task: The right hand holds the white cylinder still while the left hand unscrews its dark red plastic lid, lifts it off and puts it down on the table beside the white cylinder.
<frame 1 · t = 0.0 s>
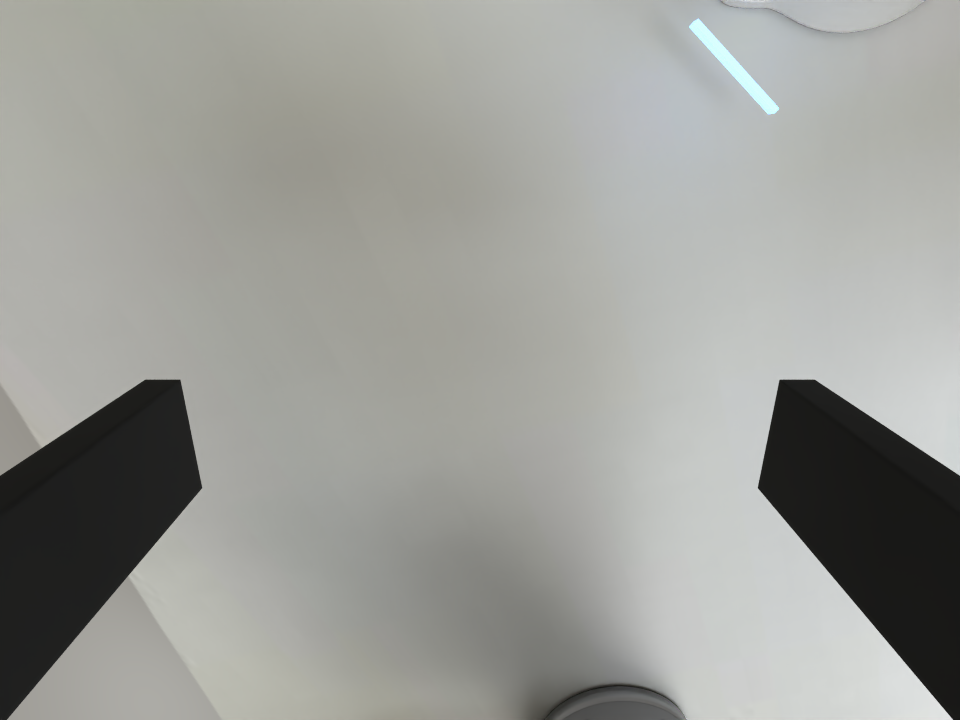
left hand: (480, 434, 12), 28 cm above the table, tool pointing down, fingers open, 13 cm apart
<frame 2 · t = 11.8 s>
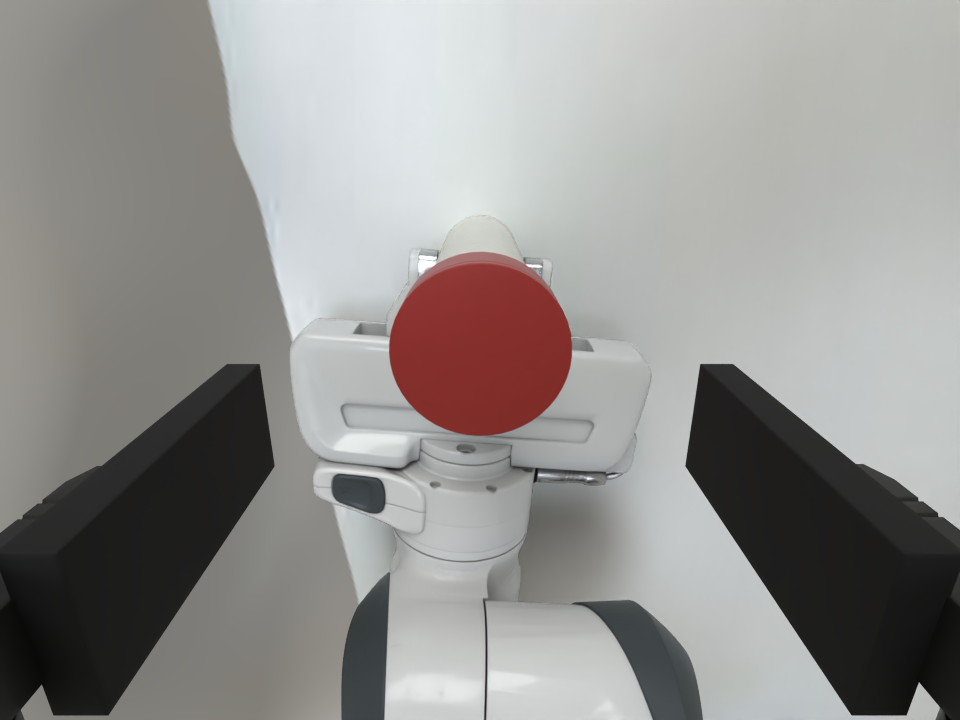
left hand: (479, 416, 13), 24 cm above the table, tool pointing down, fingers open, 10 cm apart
lid: (480, 350, 18), point 20 cm above the table, screwed on, not yet turned
white cylinder: (479, 252, 36), on the table, touching right hand
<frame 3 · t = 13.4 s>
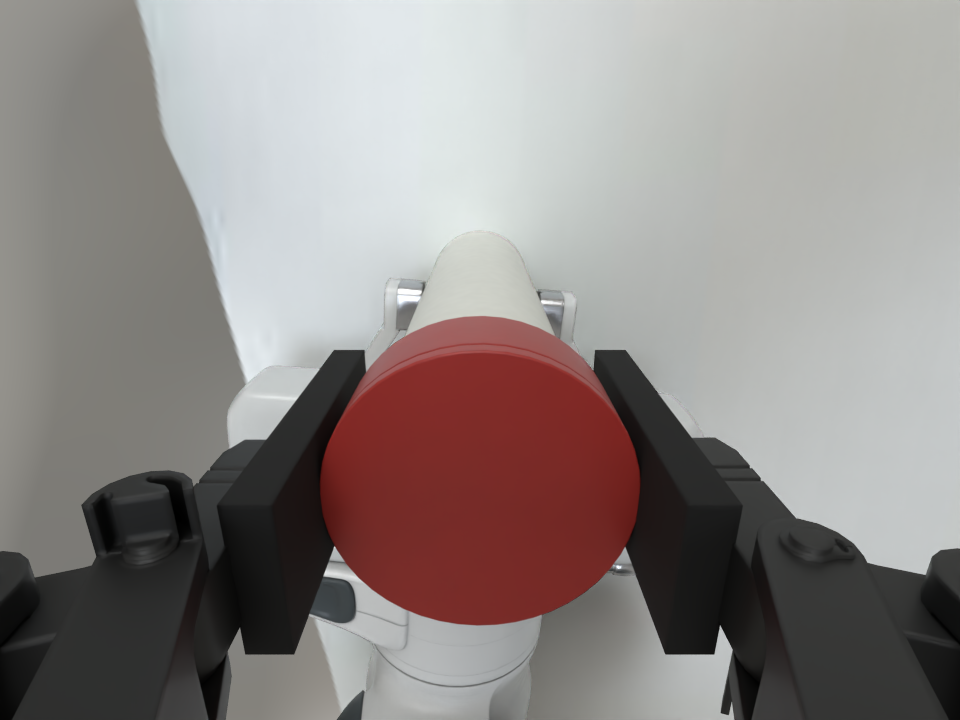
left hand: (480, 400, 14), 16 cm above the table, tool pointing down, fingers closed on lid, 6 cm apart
lid: (480, 491, 10), point 20 cm above the table, screwed on, not yet turned, touching left hand
white cylinder: (479, 277, 29), on the table, touching right hand
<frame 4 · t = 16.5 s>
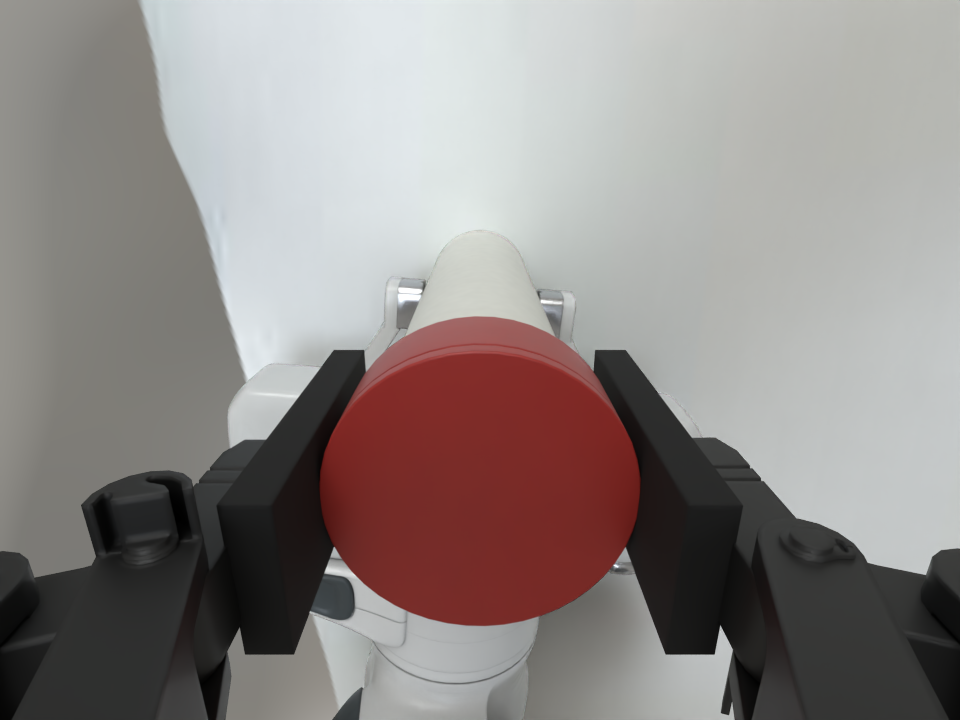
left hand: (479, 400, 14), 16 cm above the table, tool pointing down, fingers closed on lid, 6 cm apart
lid: (479, 491, 10), point 20 cm above the table, turned 86° so far, risen 0.1 cm, still on its thread, touching left hand
white cylinder: (479, 276, 29), on the table, touching right hand
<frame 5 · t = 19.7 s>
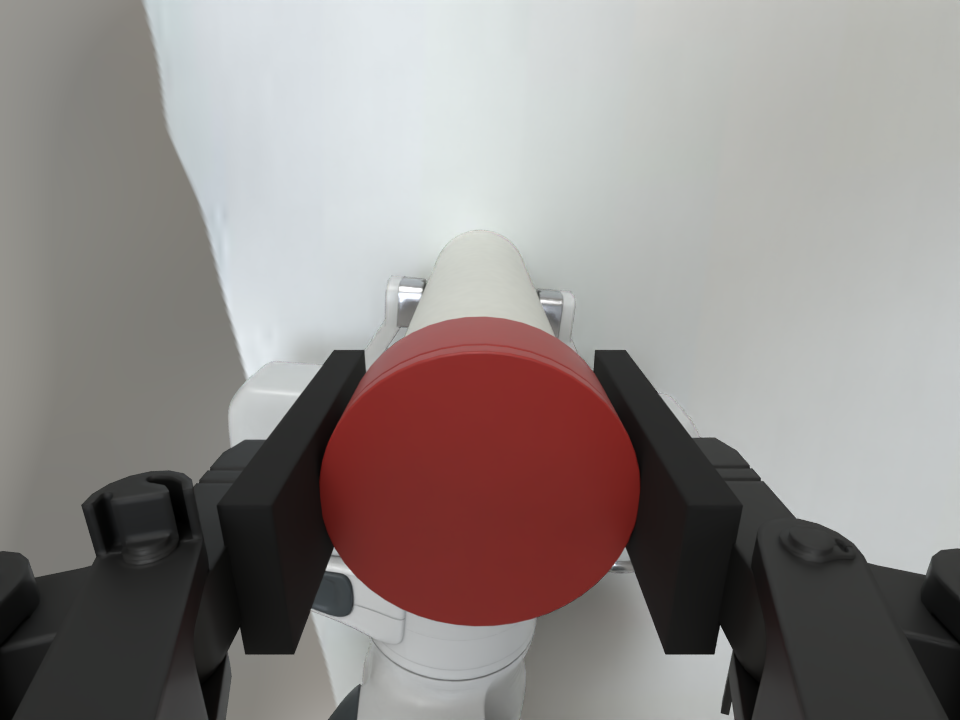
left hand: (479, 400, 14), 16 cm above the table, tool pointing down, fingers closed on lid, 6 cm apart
lid: (479, 492, 10), point 20 cm above the table, turned 172° so far, risen 0.3 cm, still on its thread, touching left hand
white cylinder: (479, 276, 29), on the table, touching right hand
when the left hand's fingers open (0 cm above the table, at t = 32.5 s): lid drops 2 cm, point 2 cm above the table.
when the right hand's fingers open (6 cm above the table, at t = 33.1 s): white cylinder stays where it is, on the table.
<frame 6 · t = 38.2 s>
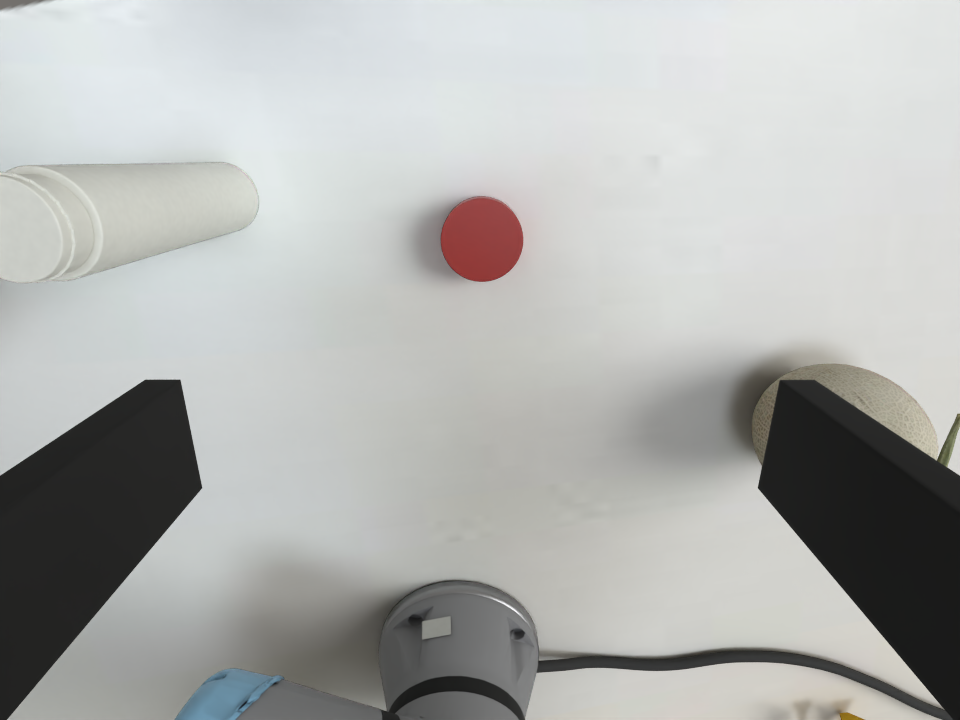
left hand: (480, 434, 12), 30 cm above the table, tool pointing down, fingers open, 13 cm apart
fruit: (795, 406, 45), on the table
lid: (481, 240, 39), point 2 cm above the table, off its thread
white cylinder: (225, 197, 40), on the table
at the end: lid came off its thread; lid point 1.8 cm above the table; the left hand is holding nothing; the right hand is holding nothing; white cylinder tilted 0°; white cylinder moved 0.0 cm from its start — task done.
